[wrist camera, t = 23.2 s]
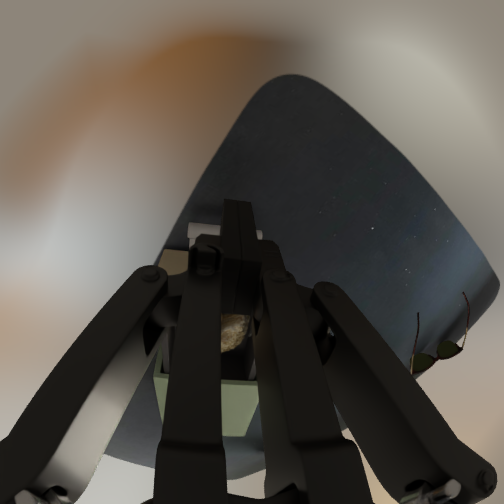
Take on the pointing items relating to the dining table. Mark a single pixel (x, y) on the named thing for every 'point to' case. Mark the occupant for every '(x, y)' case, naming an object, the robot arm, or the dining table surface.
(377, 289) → the dining table surface
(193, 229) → the pull-out drawer
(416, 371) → the sunglasses
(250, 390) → the green drawer box
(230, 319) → the cake
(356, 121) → the dining table surface
